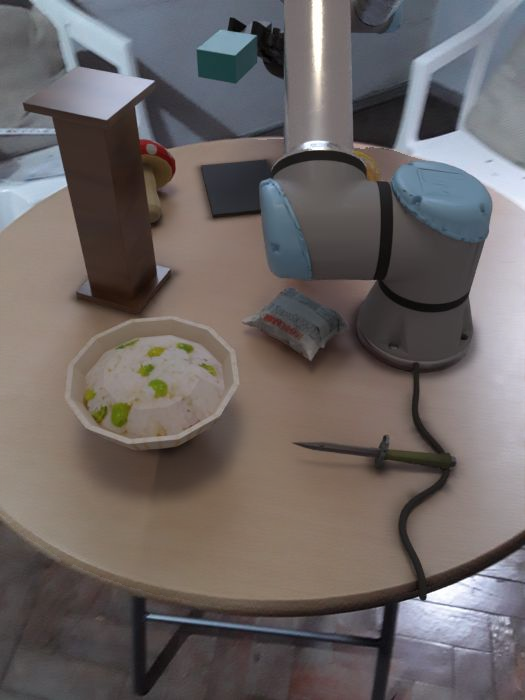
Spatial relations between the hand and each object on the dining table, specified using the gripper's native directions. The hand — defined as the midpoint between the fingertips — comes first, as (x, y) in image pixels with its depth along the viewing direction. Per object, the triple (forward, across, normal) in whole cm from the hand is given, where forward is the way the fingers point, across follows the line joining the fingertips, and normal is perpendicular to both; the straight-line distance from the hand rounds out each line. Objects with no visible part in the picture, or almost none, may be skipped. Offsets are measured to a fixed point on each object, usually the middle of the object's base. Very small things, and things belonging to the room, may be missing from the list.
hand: (242, 29), depth 101 cm
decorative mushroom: (-2, +13, -29) cm, 32 cm away
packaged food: (+16, -22, -39) cm, 47 cm away
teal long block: (-2, 0, -4) cm, 4 cm away
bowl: (+33, -12, -49) cm, 61 cm away
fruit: (-12, -19, -23) cm, 32 cm away
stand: (+15, +5, -39) cm, 42 cm away
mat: (-11, 0, -23) cm, 26 cm away
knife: (+30, -37, -47) cm, 67 cm away
